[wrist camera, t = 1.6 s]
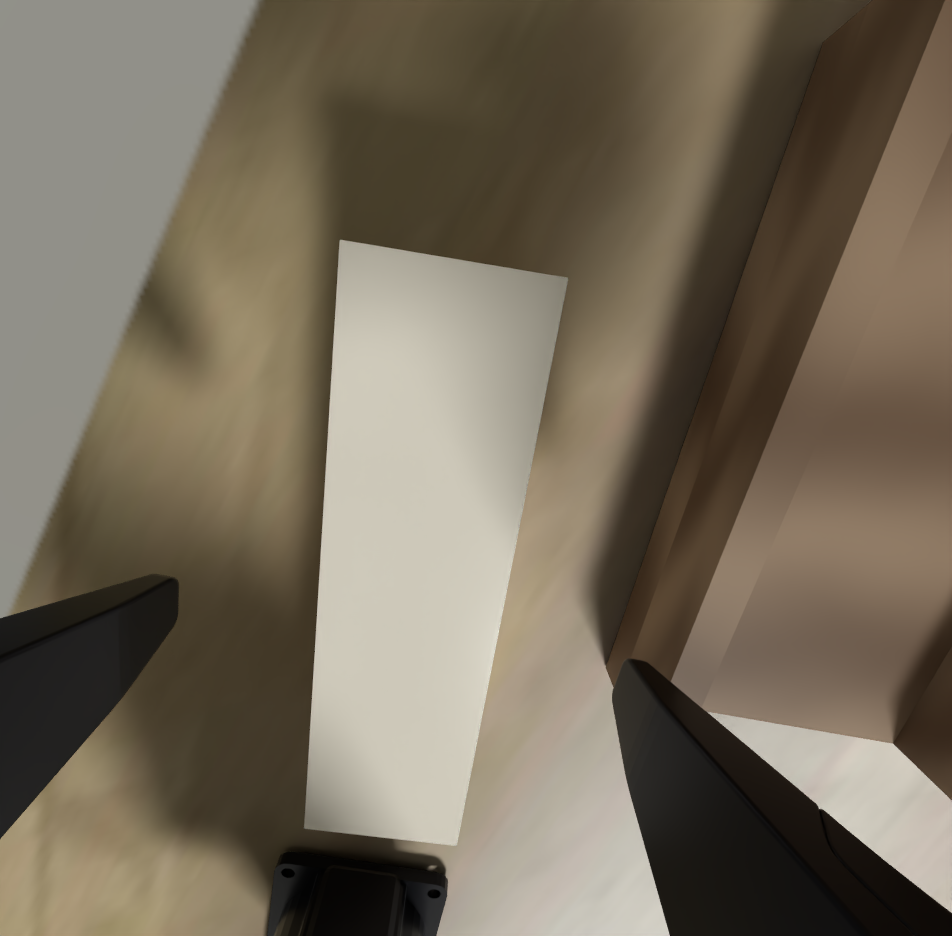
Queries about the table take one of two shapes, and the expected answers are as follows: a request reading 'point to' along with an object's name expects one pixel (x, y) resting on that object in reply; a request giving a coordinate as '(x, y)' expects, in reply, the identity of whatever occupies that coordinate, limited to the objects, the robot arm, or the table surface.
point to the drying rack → (828, 425)
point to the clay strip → (419, 528)
